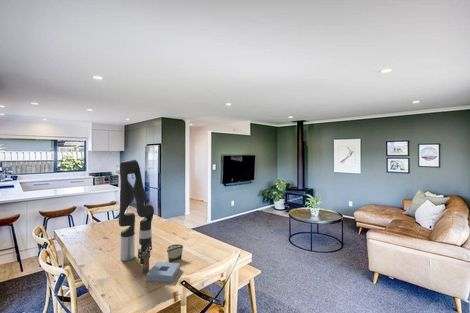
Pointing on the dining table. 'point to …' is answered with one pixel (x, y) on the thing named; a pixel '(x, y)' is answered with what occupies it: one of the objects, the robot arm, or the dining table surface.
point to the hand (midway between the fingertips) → (145, 261)
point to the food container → (174, 252)
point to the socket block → (163, 272)
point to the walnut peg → (146, 263)
